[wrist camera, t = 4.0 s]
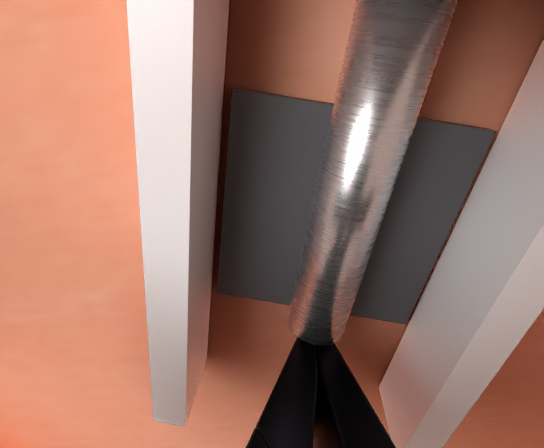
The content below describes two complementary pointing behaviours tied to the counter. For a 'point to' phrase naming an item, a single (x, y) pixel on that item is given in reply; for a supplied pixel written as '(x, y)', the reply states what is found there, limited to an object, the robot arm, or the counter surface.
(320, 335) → the rod
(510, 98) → the counter surface
